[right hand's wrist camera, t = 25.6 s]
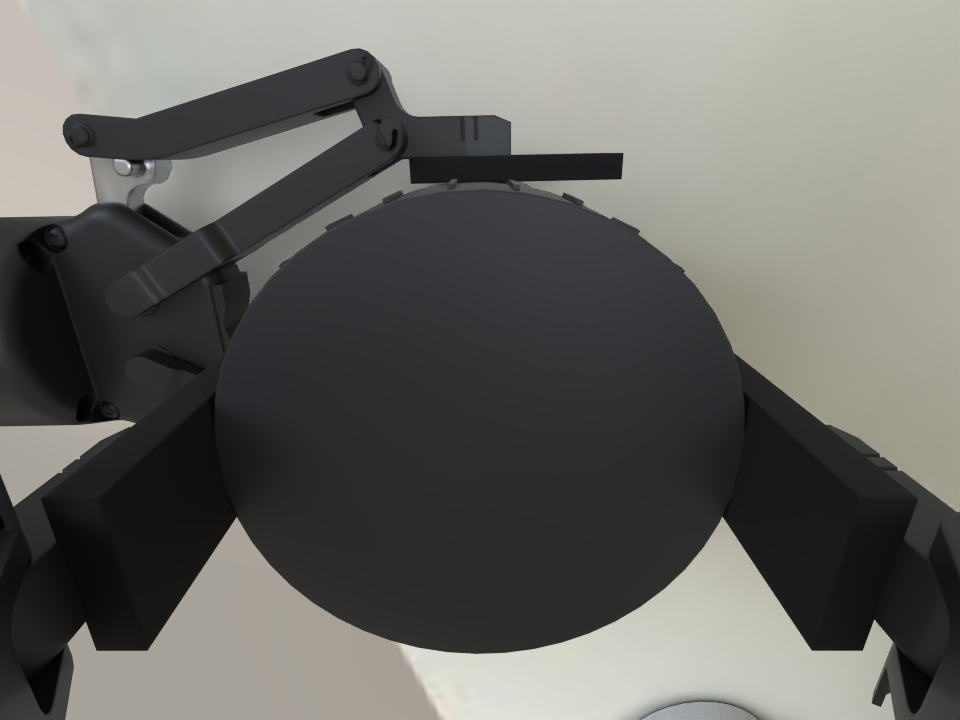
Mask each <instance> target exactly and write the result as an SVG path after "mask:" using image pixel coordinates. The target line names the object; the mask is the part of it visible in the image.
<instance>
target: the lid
mask: <svg viewBox="0 0 960 720" xmlns="http://www.w3.org/2000/svg"><path fill="white" fill-rule="evenodd" d="M382 200H383V203H381V204H379V205H377V206H375V207H373V208H371V209H369V210H367V211H365V212H363V213H361V214H359V215H357V216H355V217H353V215H352V214H350V215H348V216H346V217H344V218H342V219H340V220H338V221H335V222H333V223H331V224H329V225H328V226H326V227H325V228H326V230H327V232H325V233H324V234H322V235H321V236H320V237H318V238H317V239H315V240H314V241H312V242H311V243H310V244H308V245H307V246H305V247H304V248H303V249H301V250H300V251H298V252H297V253H296V254H295V255H294V256H293V257H291V258H290V259H288V260H286V261H284V262H282V263H281V264H280V265H279V267H280V269H279V270H278V271H277V272H276V273H275V274H274V275H273V276H272V277H271V278H270V279H269V280H268V282H267V283H266V284H265V286H264V287H263V288H262V289H261V291H260V292H259V293H258V295H257V296H256V297H255V299H254V300H253V301H252V302H251V304H250V305H249V306H248V308H247V310H246V312H245V314H244V315H243V317H242V319H241V321H240V323H239V325H238V326H237V328H236V330H235V332H234V334H233V336H232V338H231V341H230V343H229V346H228V349H227V352H226V355H225V357H224V360H223V363H222V366H221V370H220V375H219V380H218V385H217V390H216V396H215V410H214V436H215V442H216V447H217V452H218V457H219V462H220V466H221V471H222V476H223V480H224V484H225V489H226V493H227V495H228V497H229V500H230V502H231V504H232V507H233V509H234V511H235V514H236V516H237V518H238V519H239V521H240V523H241V524H242V526H243V528H244V529H245V531H246V533H247V534H248V536H249V538H250V539H251V541H252V542H253V544H254V545H255V546H256V548H257V549H258V550H259V551H260V553H261V554H262V555H263V556H264V558H265V559H266V560H267V562H268V563H269V564H270V565H271V566H272V567H273V568H274V569H275V570H276V571H277V572H278V573H279V574H280V575H281V576H282V577H283V578H284V579H285V580H286V581H287V582H288V583H289V584H290V585H291V586H292V587H294V588H295V589H296V590H298V591H299V592H300V593H301V594H303V595H304V596H305V597H306V598H308V599H309V600H310V601H311V602H313V603H314V604H316V605H318V606H319V607H321V608H323V609H324V610H326V611H327V612H329V613H330V614H332V615H334V616H335V617H337V618H339V619H341V620H343V621H345V622H347V623H349V624H351V625H353V626H355V627H357V628H359V629H361V630H364V631H366V632H369V633H372V634H374V635H377V636H380V637H383V638H385V639H388V640H391V641H395V642H399V643H403V644H406V645H410V646H414V647H418V648H424V649H431V650H437V651H444V652H455V653H472V654H483V653H507V652H514V651H522V650H529V649H536V648H540V647H544V646H549V645H553V644H557V643H562V642H565V641H568V640H571V639H573V638H576V637H579V636H582V635H585V634H588V633H591V632H593V631H595V630H597V629H600V628H602V627H604V626H606V625H608V624H611V623H613V622H615V621H617V620H618V619H620V618H622V617H624V616H625V615H627V614H629V613H630V612H632V611H634V610H636V609H637V608H639V607H641V606H642V605H643V604H645V603H646V602H647V601H649V600H650V599H651V598H653V597H654V596H655V595H657V594H658V593H659V592H661V591H662V590H663V589H665V588H666V587H667V586H668V585H669V584H670V583H671V582H672V581H673V580H674V579H675V578H676V577H677V576H678V575H679V574H681V573H682V572H683V571H684V570H685V569H686V567H687V566H688V565H689V564H690V563H691V562H692V560H693V559H694V558H695V557H696V556H697V554H698V553H699V552H700V551H701V550H702V548H703V547H704V546H705V544H706V542H707V541H708V539H709V538H710V536H711V535H712V533H713V532H714V530H715V529H716V527H717V525H718V524H719V522H720V520H721V518H722V516H723V514H724V511H725V509H726V507H727V505H728V503H729V501H730V499H731V497H732V493H733V489H734V485H735V481H736V477H737V472H738V467H739V463H740V458H741V453H742V448H743V443H744V438H745V403H744V396H743V389H742V383H741V376H740V372H739V369H738V366H737V363H736V360H735V357H734V353H733V350H732V347H731V344H730V342H729V340H728V338H727V336H726V334H725V332H724V330H723V328H722V326H721V324H720V322H719V320H718V318H717V316H716V314H715V312H714V311H713V310H712V308H711V307H710V305H709V304H708V302H707V301H706V300H705V298H704V297H703V295H702V294H701V293H700V291H699V290H698V288H697V287H696V286H695V284H694V283H693V282H692V281H691V280H690V279H689V278H688V277H687V276H686V275H685V274H684V272H685V271H684V269H683V268H682V267H680V266H678V265H677V264H675V263H673V262H672V261H671V260H670V259H669V258H668V257H667V256H666V255H664V254H663V253H662V252H660V251H659V250H658V249H656V248H655V247H654V246H652V245H651V244H650V243H648V242H647V241H646V240H645V239H643V238H642V237H641V236H639V235H638V233H639V232H640V231H639V230H638V229H636V228H634V227H632V226H630V225H628V224H626V223H624V222H622V221H620V220H618V219H616V218H614V217H612V219H609V218H607V217H605V216H603V215H601V214H599V213H597V212H595V211H593V210H591V209H589V208H587V207H585V206H583V203H584V201H582V200H580V199H578V198H576V197H573V196H571V195H569V194H567V193H563V195H562V197H561V196H558V195H555V194H553V193H550V192H546V191H542V190H537V189H533V188H528V187H524V186H520V185H519V184H518V183H517V182H515V181H514V180H508V184H500V183H489V182H476V183H457V179H452V180H451V181H450V182H449V183H447V185H442V186H436V187H431V188H426V189H421V190H416V191H413V192H410V193H408V194H405V195H403V193H402V191H398V192H396V193H394V194H392V195H389V196H387V197H385V198H383V199H382Z"/></svg>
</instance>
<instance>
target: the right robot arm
mask: <svg viewBox="0 0 960 720" xmlns="http://www.w3.org/2000/svg"><path fill="white" fill-rule="evenodd" d="M225 355H226V353H225V354H224V355H222V356H221V357H220V358H219V359H217V360H216V361H215V362H213V363H212V364H211V365H210V366H208V367H207V368H206V369H205V370H203V371H202V372H201V373H199V374H198V375H197V376H196V377H194V378H193V379H192V380H191V381H189V382H188V383H187V384H186V385H184V386H183V387H182V388H180V389H179V390H178V391H177V392H175V393H174V394H173V395H172V396H170V397H169V398H168V399H166V400H165V401H164V402H163V403H161V404H160V405H159V406H158V407H156V408H155V409H154V410H153V411H151V412H150V413H149V414H147V415H146V416H145V417H144V418H142V419H141V420H140V421H139V422H137V423H136V424H135V425H133V426H132V427H128V428H126V429H124V430H122V431H120V432H118V433H116V434H114V435H111V436H109V437H107V438H105V439H103V440H101V441H100V442H98V443H97V444H96V445H95V446H93V447H92V448H91V449H89V450H88V451H87V452H85V453H84V454H83V455H81V456H80V459H79V460H77V459H76V460H75V461H73V462H72V463H71V464H69V465H68V466H67V467H66V468H64V469H63V472H62V473H58V474H56V475H55V476H54V477H52V478H51V479H50V480H48V481H47V482H46V483H45V484H43V485H42V486H40V487H39V488H38V489H37V490H35V491H34V492H33V493H31V494H30V495H29V496H27V497H26V498H25V499H23V500H22V501H21V502H19V503H18V504H17V505H15V506H14V507H13V505H12V503H11V500H10V498H9V495H8V493H7V490H6V487H5V485H4V482H3V480H2V477H1V475H0V720H65V717H66V711H67V705H68V699H69V693H70V687H71V681H72V675H73V668H74V665H73V659H72V654H71V652H70V649H69V647H68V644H67V643H68V642H69V641H70V640H71V638H72V637H73V636H74V635H75V634H76V632H77V631H78V630H79V629H80V628H81V626H82V625H83V624H84V623H85V622H86V623H87V626H88V629H89V631H90V634H91V637H92V639H93V642H94V645H95V647H96V650H97V651H147V650H148V649H149V648H150V646H151V644H152V643H153V642H154V640H155V639H156V637H157V636H158V634H159V633H160V631H161V630H162V628H163V627H164V625H165V624H166V622H167V621H168V619H169V617H170V616H171V615H172V613H173V612H174V610H175V609H176V607H177V605H178V604H179V603H180V601H181V600H182V598H183V597H184V595H185V593H186V592H187V591H188V589H189V587H190V586H191V585H192V583H193V582H194V580H195V579H196V577H197V576H198V574H199V573H200V571H201V570H202V568H203V567H204V565H205V564H206V562H207V561H208V559H209V558H210V556H211V555H212V553H213V552H214V550H215V549H216V547H217V546H218V544H219V543H220V541H221V539H222V538H223V537H224V535H225V534H226V532H227V531H228V529H229V528H230V526H231V525H232V523H233V522H234V520H235V519H236V517H237V516H236V514H235V511H234V509H233V507H232V504H231V502H230V500H229V497H228V495H227V493H226V489H225V484H224V480H223V476H222V471H221V466H220V462H219V457H218V452H217V447H216V442H215V436H214V410H215V396H216V390H217V385H218V380H219V375H220V370H221V366H222V363H223V360H224V357H225ZM734 357H735V360H736V363H737V366H738V369H739V372H740V376H741V383H742V389H743V396H744V403H745V438H744V443H743V448H742V453H741V458H740V463H739V467H738V472H737V477H736V481H735V485H734V489H733V493H732V497H731V499H730V501H729V503H728V505H727V507H726V509H725V511H724V514H723V518H724V519H725V521H726V522H727V524H728V525H729V527H730V528H731V530H732V531H733V533H734V534H735V536H736V537H737V539H738V540H739V542H740V543H741V545H742V546H743V548H744V549H745V551H746V552H747V554H748V555H749V557H750V558H751V560H752V561H753V563H754V564H755V566H756V567H757V569H758V570H759V572H760V573H761V575H762V576H763V578H764V579H765V581H766V582H767V584H768V585H769V587H770V588H771V590H772V591H773V593H774V594H775V596H776V597H777V599H778V600H779V602H780V603H781V605H782V606H783V608H784V609H785V611H786V612H787V614H788V615H789V617H790V618H791V620H792V621H793V623H794V624H795V626H796V627H797V629H798V630H799V632H800V633H801V635H802V636H803V638H804V639H805V641H806V642H807V644H808V645H809V647H810V648H811V650H812V651H863V648H864V646H865V643H866V640H867V637H868V635H869V632H870V629H871V627H872V624H873V621H874V619H875V621H876V622H877V623H878V624H879V625H880V627H881V628H882V629H883V630H884V631H885V632H886V634H887V635H888V636H889V637H890V638H891V640H892V641H893V644H892V647H891V649H890V652H889V654H888V657H887V659H886V662H885V664H884V667H883V670H882V672H881V675H880V677H879V680H878V682H877V685H876V687H875V690H874V693H873V699H872V704H875V705H877V706H880V707H881V706H882V703H883V701H884V698H885V696H886V694H888V693H891V697H892V703H893V709H894V715H895V720H960V512H956V511H954V510H953V509H952V508H950V507H949V506H948V505H946V504H945V503H944V502H942V501H941V500H940V499H938V498H937V497H936V496H935V495H933V494H932V493H931V492H929V491H928V490H927V489H925V488H924V487H923V486H921V485H920V484H919V483H917V482H916V481H915V480H913V479H912V478H911V477H909V476H908V475H907V474H905V473H904V472H903V471H898V470H897V467H896V466H895V465H893V464H892V463H891V462H889V461H888V460H887V459H885V458H884V457H880V454H879V453H877V452H876V451H875V450H873V449H872V448H871V447H869V446H868V445H867V444H866V443H864V442H863V441H862V440H860V439H859V438H857V437H855V436H853V435H851V434H848V433H846V432H844V431H842V430H840V429H838V428H836V427H834V426H831V425H825V424H823V423H822V422H821V421H820V420H818V419H817V418H816V417H814V416H813V415H812V414H811V413H809V412H808V411H807V410H806V409H804V408H803V407H802V406H800V405H799V404H798V403H797V402H795V401H794V400H793V399H792V398H790V397H789V396H788V395H787V394H785V393H784V392H783V391H781V390H780V389H779V388H778V387H776V386H775V385H774V384H773V383H771V382H770V381H769V380H768V379H766V378H765V377H764V376H762V375H761V374H760V373H759V372H757V371H756V370H755V369H754V368H752V367H751V366H750V365H748V364H747V363H746V362H745V361H743V360H742V359H741V358H740V357H738V356H737V355H736V354H735V353H734Z"/></svg>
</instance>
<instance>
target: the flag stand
mask: <svg viewBox="0 0 960 720" xmlns="http://www.w3.org/2000/svg"><path fill="white" fill-rule="evenodd" d="M641 720H757V719H756V718H755V717H754V716H753V715H751V714H750V713H748V712H746V711H744V710H743V709H740V708H737V707H734V706H732V705H728V704H722V703H717V702H692V703H683V704H679V705H674V706H670V707H667V708H664V709H662V710H659V711H657V712H654V713H652V714H650V715H648V716H647V717H645V718H643V719H641Z"/></svg>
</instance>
